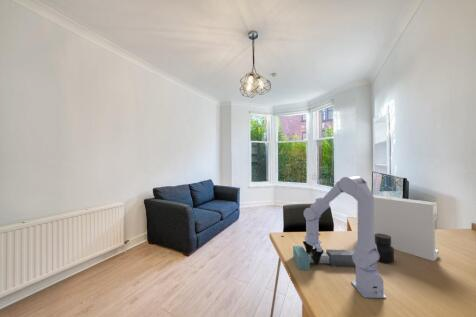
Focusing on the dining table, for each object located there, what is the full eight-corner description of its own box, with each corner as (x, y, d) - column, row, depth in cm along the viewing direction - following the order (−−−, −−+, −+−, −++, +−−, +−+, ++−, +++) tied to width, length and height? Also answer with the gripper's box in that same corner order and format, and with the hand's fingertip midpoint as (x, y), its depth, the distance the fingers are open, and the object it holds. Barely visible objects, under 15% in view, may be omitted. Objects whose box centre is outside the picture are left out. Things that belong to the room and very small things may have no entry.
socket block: (309, 269, 91) (309, 257, 92) (299, 269, 92) (298, 256, 92) (302, 257, 103) (302, 246, 104) (293, 257, 104) (293, 246, 104)
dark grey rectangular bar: (361, 267, 93) (361, 255, 93) (331, 266, 94) (330, 254, 94) (355, 261, 99) (354, 249, 99) (326, 260, 100) (326, 249, 100)
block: (359, 238, 128) (358, 195, 128) (365, 235, 132) (364, 193, 133) (433, 261, 98) (432, 204, 99) (438, 256, 103) (437, 202, 103)
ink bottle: (381, 254, 106) (381, 231, 106) (399, 262, 98) (398, 237, 98) (367, 257, 103) (367, 234, 103) (385, 265, 95) (384, 240, 95)
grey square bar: (339, 263, 95) (338, 255, 95) (300, 262, 96) (300, 255, 96) (335, 259, 98) (335, 252, 98) (299, 259, 99) (298, 251, 99)
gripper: (328, 237, 91) (328, 267, 90) (313, 227, 105) (313, 252, 105) (313, 238, 90) (313, 268, 90) (300, 227, 105) (301, 253, 104)
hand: (312, 259), depth 97 cm, fingers open, 7 cm apart
